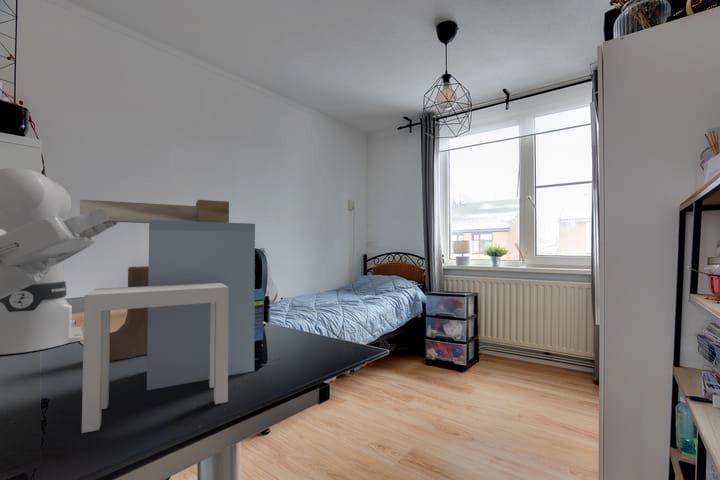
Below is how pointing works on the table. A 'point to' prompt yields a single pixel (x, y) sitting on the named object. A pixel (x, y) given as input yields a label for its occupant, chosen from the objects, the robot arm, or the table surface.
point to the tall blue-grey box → (191, 321)
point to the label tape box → (258, 315)
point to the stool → (143, 297)
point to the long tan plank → (159, 211)
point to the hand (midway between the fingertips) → (111, 216)
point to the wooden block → (132, 323)
